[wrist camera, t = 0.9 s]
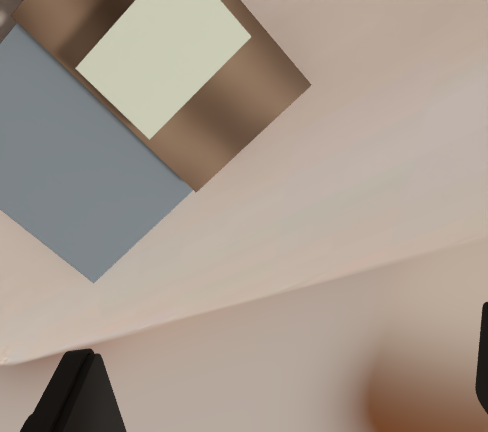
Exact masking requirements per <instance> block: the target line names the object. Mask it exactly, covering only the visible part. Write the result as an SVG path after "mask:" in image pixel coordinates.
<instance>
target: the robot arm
mask: <svg viewBox="0 0 488 432" xmlns="http://www.w3.org/2000/svg"><path fill="white" fill-rule="evenodd" d="M476 394H477V397H478V400H479V402H480V403H481V405H482V406H483V408H484V409H485V411H486V412H487V414H488V302H485V303H484V305H483V308H482V320H481V331H480V342H479V353H478V365H477V376H476ZM20 432H126V429H125V426H124V423H123V420H122V417H121V414H120V411H119V408H118V405H117V402H116V399H115V396H114V393H113V390H112V387H111V384H110V381H109V378H108V375H107V371H106V368H105V366H104V362H103V359H102V357H101V355H100V354H94V352H93V350H92V349H82V350H74V351H68V352H66V353H65V354H64V355H63V357H62V359H61V361H60V363H59V365H58V367H57V369H56V371H55V372H54V374H53V376H52V378H51V380H50V382H49V384H48V386H47V388H46V389H45V391H44V393H43V395H42V397H41V399H40V401H39V403H38V404H37V406H36V408H35V411H34V412H33V414H31V415H30V416H29V417H28V419H27V420H26V421H25V423H24V425H23V427H22V429H21V431H20Z"/></svg>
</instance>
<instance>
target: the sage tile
mask: <svg viewBox="0 0 488 432" xmlns="http://www.w3.org/2000/svg"><path fill="white" fill-rule="evenodd" d="M250 38H251V35H250V34H249V33H248V32H247V31H246V30H245V28H244V27H243V26H242V25H241V24H240V23H239V21H238V20H237V19H236V18H235V17H234V16H233V14H232V13H231V12H230V11H229V10H228V9H227V7H226V6H225V5H224V4H223V3H222V2H221V0H135V1H134V2H133V3H132V5H131V6H130V7H129V8H128V9H127V10H126V11H125V13H124V14H123V15H122V16H121V17H120V18H119V19H118V20H117V22H116V23H115V24H114V25H113V26H112V27H111V28H110V30H109V31H108V32H107V33H106V34H105V35H104V36H103V38H102V39H101V40H100V41H99V42H98V43H97V44H96V45H95V47H94V48H93V49H92V50H91V51H90V52H89V53H88V55H87V56H86V57H85V58H84V59H83V60H82V61H81V62H80V64H79V65H78V66H77V67H76V68H75V69H76V70H77V71H79V72H80V73H81V74H82V75H83V76H84V77H85V78H86V79H87V80H88V81H89V82H90V83H91V84H92V85H93V86H94V87H95V88H96V89H97V90H98V91H99V92H100V93H101V94H102V95H103V96H105V97H106V98H107V99H108V100H109V101H110V102H111V103H112V104H113V105H114V106H115V107H116V108H117V109H118V110H119V111H120V112H121V113H122V114H123V115H124V116H125V117H126V118H127V119H128V120H129V121H131V122H132V123H133V124H134V125H135V126H136V127H137V128H138V129H139V130H140V131H141V132H142V133H143V134H144V135H145V136H146V137H147V138H148V139H149V140H150V139H151V138H152V137H153V136H154V135H155V134H156V133H157V132H158V131H159V130H160V129H161V128H162V127H163V126H164V125H165V124H166V123H167V122H168V121H169V120H170V119H171V118H172V117H173V115H174V114H175V113H176V112H177V111H178V110H179V109H180V108H181V107H182V106H183V105H184V104H185V103H186V102H187V101H188V100H189V99H190V98H191V97H192V96H193V95H194V94H195V93H196V92H197V91H198V90H199V89H200V88H201V87H202V86H203V85H204V84H205V83H206V82H207V81H208V80H209V79H210V78H211V77H212V76H213V75H214V74H215V73H216V72H217V71H218V70H219V69H220V68H221V67H222V66H223V65H224V64H225V63H226V62H227V61H228V60H229V59H230V58H231V57H232V56H233V55H234V54H235V53H236V52H237V51H238V50H239V49H240V48H241V47H242V46H243V45H244V44H245V43H246V42H247V41H248V40H249V39H250Z"/></svg>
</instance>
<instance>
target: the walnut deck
mask: <svg viewBox="0 0 488 432" xmlns="http://www.w3.org/2000/svg"><path fill="white" fill-rule="evenodd" d="M134 1H135V0H23V2H22V3H21V4H20V5H19V7H18V8H17V9H16V10H15V12H14V13H13V14H12V15H11V17H12V18H14V19H15V20H16V21H17V22H18V23H19V24H20V25H21V26H22V27H23V28H24V29H25V30H26V31H27V32H28V33H29V34H30V35H31V36H32V37H33V38H34V39H36V40H37V41H38V42H39V43H40V44H41V45H42V46H43V47H44V48H45V49H46V50H47V51H48V52H49V53H50V54H51V55H52V56H53V57H54V58H55V59H57V60H58V61H59V62H60V63H61V64H62V65H63V66H64V67H65V68H66V69H67V70H68V71H69V72H70V73H71V74H72V75H73V76H74V77H75V78H76V79H77V80H79V81H80V82H81V83H82V84H83V85H84V86H85V87H86V88H87V89H88V90H89V91H90V92H91V93H92V94H93V95H94V96H95V97H96V98H97V99H98V100H100V101H101V102H102V103H103V104H104V105H105V106H106V107H107V108H108V109H109V110H110V111H111V112H112V113H113V114H114V115H115V116H116V117H117V118H118V119H119V120H120V121H122V122H123V123H124V124H125V125H126V126H127V127H128V128H129V129H130V130H131V131H132V132H133V133H134V134H135V135H136V136H137V137H138V138H139V139H140V140H141V141H143V142H144V143H145V144H146V145H147V146H148V147H149V148H150V149H151V150H152V151H153V152H154V153H155V154H156V155H157V156H158V157H159V158H160V159H161V160H162V161H163V162H165V163H166V164H167V165H168V166H169V167H170V168H171V169H172V170H173V171H174V172H175V173H176V174H177V175H178V176H179V177H180V178H181V179H182V180H183V181H184V182H185V183H187V184H188V185H189V186H190V187H191V188H192V189H193V190H194V191H195V192H197V191H198V190H199V189H200V188H202V187H203V186H204V185H205V184H206V183H207V182H208V181H209V180H210V179H211V178H212V177H213V176H214V175H215V174H217V173H218V172H219V171H220V170H221V169H222V168H223V167H224V166H225V165H226V164H227V163H228V162H229V161H231V160H232V159H233V158H234V157H235V156H236V155H237V154H238V153H239V152H240V151H241V150H242V149H243V148H244V147H246V146H247V145H248V144H249V143H250V142H251V141H252V140H253V139H254V138H255V137H256V136H257V135H258V134H259V133H261V132H262V131H263V130H264V129H265V128H266V127H267V126H268V125H269V124H270V123H271V122H272V121H273V120H274V119H276V118H277V117H278V116H279V115H280V114H281V113H282V112H283V111H284V110H285V109H286V108H287V107H288V106H290V105H291V104H292V103H293V102H294V101H295V100H296V99H297V98H298V97H299V96H300V95H301V94H302V93H303V92H305V91H306V90H307V89H308V88H309V87H310V86H311V84H310V83H309V81H308V80H307V79H306V78H305V77H304V75H303V74H302V73H301V72H300V71H299V69H298V68H297V67H296V66H295V65H294V63H293V62H292V61H291V60H290V59H289V58H288V56H287V55H286V54H285V53H284V52H283V50H282V49H281V48H280V47H279V46H278V44H277V43H276V42H275V41H274V40H273V38H272V37H271V36H270V35H269V34H268V33H267V31H266V30H265V29H264V28H263V27H262V25H261V24H260V23H259V22H258V21H257V19H256V18H255V17H254V16H253V15H252V13H251V12H250V11H249V10H248V9H247V8H246V6H245V5H244V4H243V3H242V2H241V0H221V2H222V3H223V4H224V5H225V6H226V7H227V9H228V10H229V11H230V12H231V13H232V14H233V16H234V17H235V18H236V19H237V20H238V21H239V23H240V24H241V25H242V26H243V27H244V28H245V30H246V31H247V32H248V33H249V34H250V35H251V38H250V39H249V40H248V41H247V42H246V43H245V44H244V45H243V46H242V47H241V48H240V49H239V50H238V51H237V52H236V53H235V54H234V55H233V56H232V57H231V58H230V59H229V60H228V61H227V62H226V63H225V64H224V65H223V66H222V67H221V68H220V69H219V70H218V71H217V72H216V73H215V74H214V75H213V76H212V77H211V78H210V79H209V80H208V81H207V82H206V83H205V84H204V85H203V86H202V87H201V88H200V89H199V90H198V91H197V92H196V93H195V94H194V95H193V96H192V97H191V98H190V99H189V100H188V101H187V102H186V103H185V104H184V105H183V106H182V107H181V108H180V109H179V110H178V111H177V112H176V113H175V114H174V115H173V117H172V118H171V119H170V120H169V121H168V122H167V123H166V124H165V125H164V126H163V127H162V128H161V129H160V130H159V131H158V132H157V133H156V134H155V135H154V136H153V137H152V138H151V139H150V140H149V139H148V138H147V137H146V136H145V135H144V134H143V133H142V132H141V131H140V130H139V129H138V128H137V127H136V126H135V125H134V124H133V123H132V122H131V121H129V120H128V119H127V118H126V117H125V116H124V115H123V114H122V113H121V112H120V111H119V110H118V109H117V108H116V107H115V106H114V105H113V104H112V103H111V102H110V101H109V100H108V99H107V98H106V97H105V96H103V95H102V94H101V93H100V92H99V91H98V90H97V89H96V88H95V87H94V86H93V85H92V84H91V83H90V82H89V81H88V80H87V79H86V78H85V77H84V76H83V75H82V74H81V73H80V72H79V71H77V70H76V69H75V68H76V67H77V66H78V65H79V64H80V62H81V61H82V60H83V59H84V58H85V57H86V56H87V55H88V53H89V52H90V51H91V50H92V49H93V48H94V47H95V45H96V44H97V43H98V42H99V41H100V40H101V39H102V38H103V36H104V35H105V34H106V33H107V32H108V31H109V30H110V28H111V27H112V26H113V25H114V24H115V23H116V22H117V20H118V19H119V18H120V17H121V16H122V15H123V14H124V13H125V11H126V10H127V9H128V8H129V7H130V6H131V5H132V3H133V2H134Z"/></svg>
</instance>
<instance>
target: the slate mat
mask: <svg viewBox="0 0 488 432" xmlns="http://www.w3.org/2000/svg"><path fill="white" fill-rule="evenodd" d="M192 191H193V189H192V188H191V187H190V186H189V185H188V184H187V183H185V182H184V181H183V180H182V179H181V178H180V177H179V176H178V175H177V174H176V173H175V172H174V171H173V170H172V169H171V168H170V167H169V166H168V165H167V164H166V163H165V162H163V161H162V160H161V159H160V158H159V157H158V156H157V155H156V154H155V153H154V152H153V151H152V150H151V149H150V148H149V147H148V146H147V145H146V144H145V143H144V142H143V141H141V140H140V139H139V138H138V137H137V136H136V135H135V134H134V133H133V132H132V131H131V130H130V129H129V128H128V127H127V126H126V125H125V124H124V123H123V122H122V121H120V120H119V119H118V118H117V117H116V116H115V115H114V114H113V113H112V112H111V111H110V110H109V109H108V108H107V107H106V106H105V105H104V104H103V103H102V102H101V101H100V100H98V99H97V98H96V97H95V96H94V95H93V94H92V93H91V92H90V91H89V90H88V89H87V88H86V87H85V86H84V85H83V84H82V83H81V82H80V81H79V80H77V79H76V78H75V77H74V76H73V75H72V74H71V73H70V72H69V71H68V70H67V69H66V68H65V67H64V66H63V65H62V64H61V63H60V62H59V61H58V60H57V59H55V58H54V57H53V56H52V55H51V54H50V53H49V52H48V51H47V50H46V49H45V48H44V47H43V46H42V45H41V44H40V43H39V42H38V41H37V40H36V39H34V38H33V37H32V36H31V35H30V34H29V33H28V32H27V31H26V30H25V29H24V28H23V27H22V26H21V25H20V24H19V23H18V22H17V24H16V25H15V26H14V27H13V29H12V30H11V31H10V32H9V34H8V35H7V36H6V37H5V39H4V40H3V41H2V42H1V43H0V210H1V211H3V212H4V213H5V214H7V215H8V216H9V217H10V218H12V219H13V220H14V221H15V222H17V223H18V224H19V225H20V226H22V227H23V228H24V229H26V230H27V231H28V232H29V233H31V234H32V235H33V236H34V237H36V238H37V239H38V240H40V241H41V242H42V243H43V244H45V245H46V246H47V247H48V248H50V249H51V250H52V251H53V252H55V253H56V254H57V255H59V256H60V257H61V258H62V259H64V260H65V261H66V262H67V263H69V264H70V265H71V266H72V267H74V268H75V269H76V270H78V271H79V272H80V273H81V274H83V275H84V276H85V277H86V278H88V279H89V280H90V281H92V282H93V283H95V282H96V281H97V280H98V279H99V278H100V277H101V276H102V275H103V274H104V273H105V272H106V271H107V270H108V269H109V268H111V267H112V266H113V265H114V264H115V263H116V262H117V261H118V260H119V259H120V258H121V257H122V256H123V255H124V254H125V253H127V252H128V251H129V250H130V249H131V248H132V247H133V246H134V245H135V244H136V243H137V242H138V241H139V240H140V239H142V238H143V237H144V236H145V235H146V234H147V233H148V232H149V231H150V230H151V229H152V228H153V227H154V226H155V225H156V224H158V223H159V222H160V221H161V220H162V219H163V218H164V217H165V216H166V215H167V214H168V213H169V212H170V211H171V210H173V209H174V208H175V207H176V206H177V205H178V204H179V203H180V202H181V201H182V200H183V199H184V198H185V197H186V196H187V195H189V194H190V193H191V192H192Z"/></svg>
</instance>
